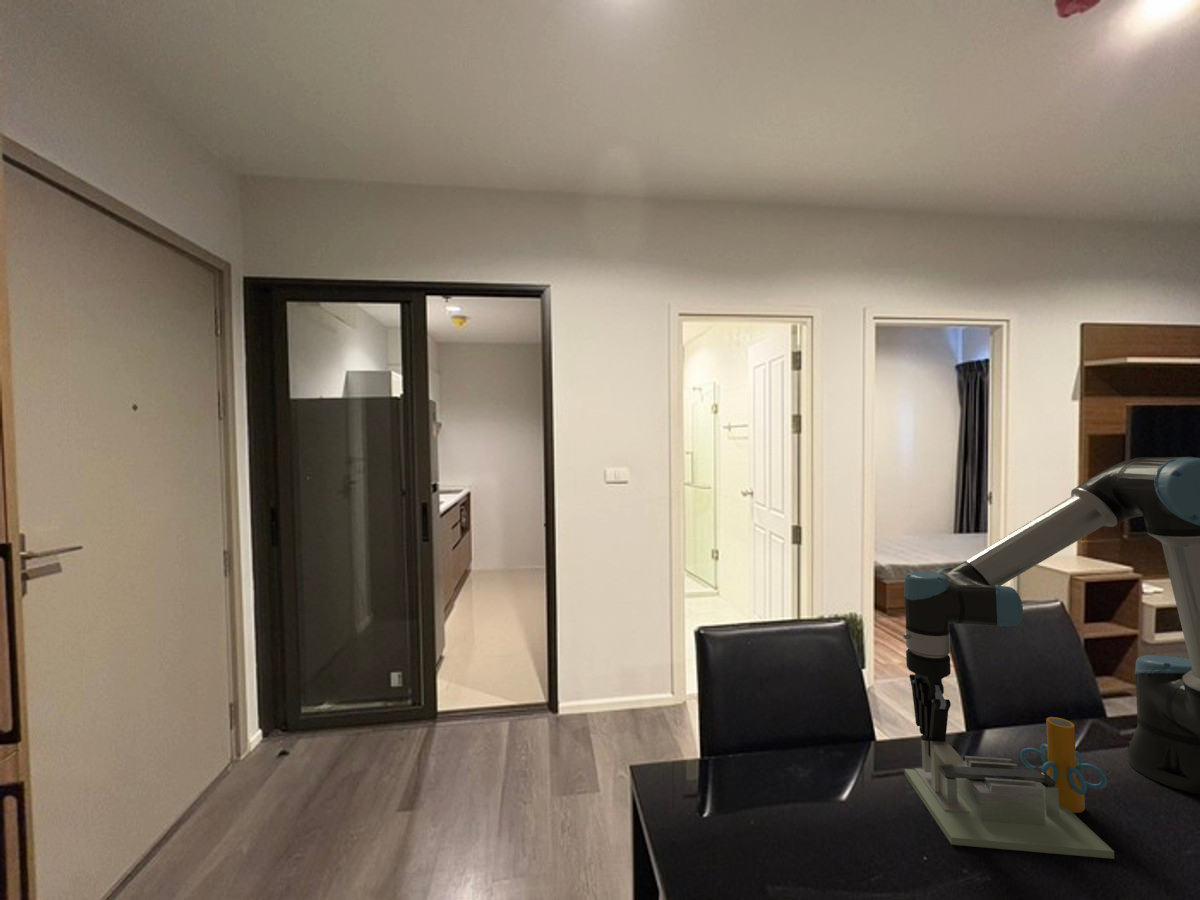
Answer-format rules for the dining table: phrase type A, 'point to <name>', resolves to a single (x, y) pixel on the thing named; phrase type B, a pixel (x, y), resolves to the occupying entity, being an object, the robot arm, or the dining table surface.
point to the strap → (996, 774)
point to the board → (1007, 826)
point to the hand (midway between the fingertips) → (931, 770)
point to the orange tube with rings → (1064, 764)
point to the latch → (941, 760)
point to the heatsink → (1002, 795)
